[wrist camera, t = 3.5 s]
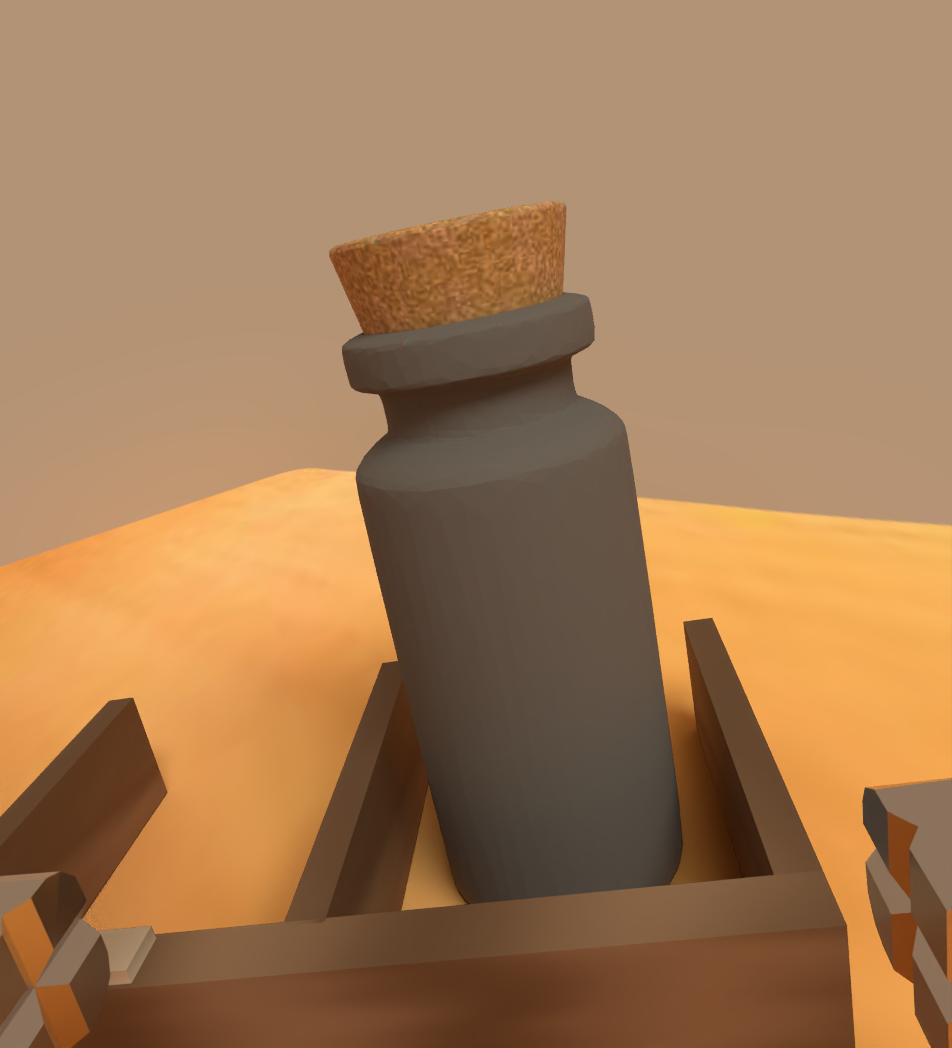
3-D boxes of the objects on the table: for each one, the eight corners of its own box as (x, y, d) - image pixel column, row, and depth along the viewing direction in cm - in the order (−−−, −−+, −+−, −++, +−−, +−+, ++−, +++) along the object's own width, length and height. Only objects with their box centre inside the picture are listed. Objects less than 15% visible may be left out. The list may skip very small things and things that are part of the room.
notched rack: (-477, 1171, 18) (-580, 1037, 17) (-98, 824, 28) (-145, 727, 27) (857, 1088, 14) (845, 910, 13) (724, 724, 25) (710, 608, 23)
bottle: (465, 786, 24) (341, 250, 20) (670, 766, 23) (591, 198, 19) (435, 950, 19) (252, 257, 14) (702, 932, 18) (600, 184, 13)
